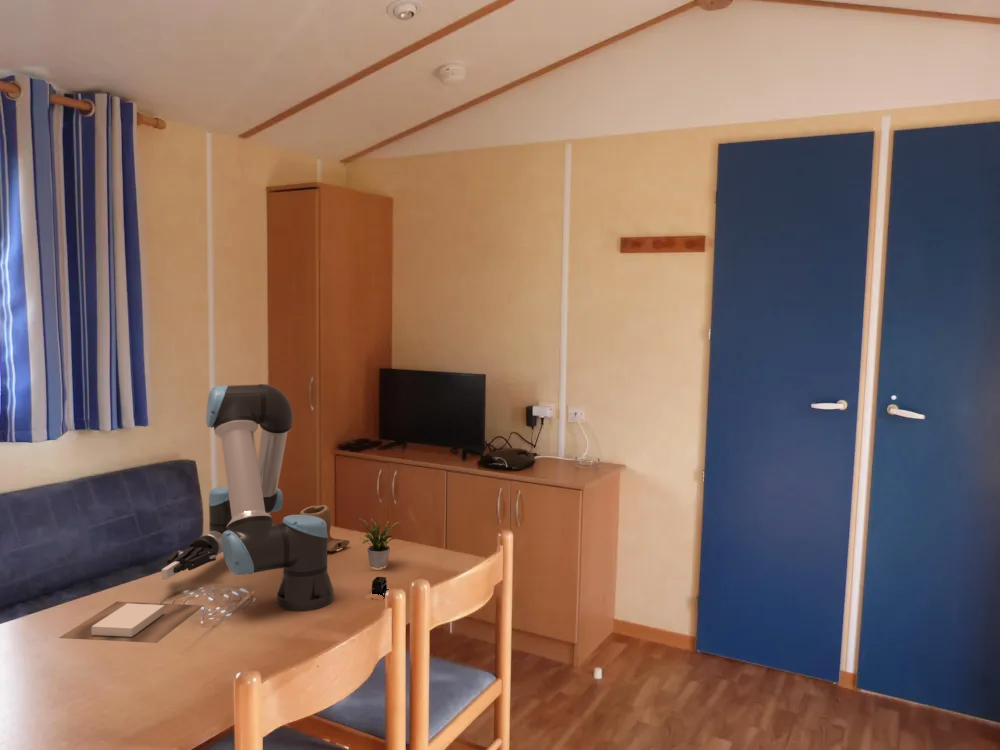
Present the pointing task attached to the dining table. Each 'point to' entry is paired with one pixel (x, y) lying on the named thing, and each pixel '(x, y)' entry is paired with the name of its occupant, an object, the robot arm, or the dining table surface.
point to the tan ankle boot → (325, 514)
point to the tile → (128, 620)
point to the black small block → (379, 586)
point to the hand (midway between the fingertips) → (164, 574)
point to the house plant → (378, 545)
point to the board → (149, 634)
